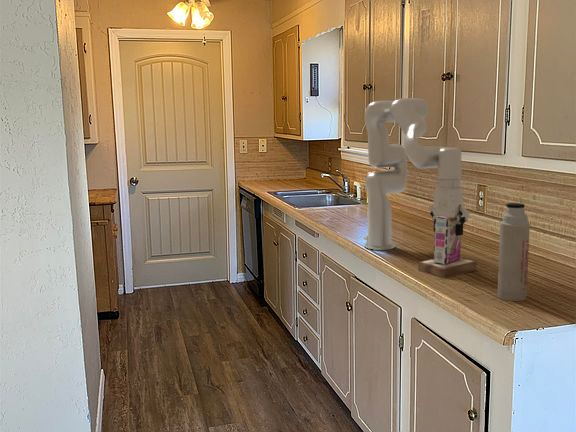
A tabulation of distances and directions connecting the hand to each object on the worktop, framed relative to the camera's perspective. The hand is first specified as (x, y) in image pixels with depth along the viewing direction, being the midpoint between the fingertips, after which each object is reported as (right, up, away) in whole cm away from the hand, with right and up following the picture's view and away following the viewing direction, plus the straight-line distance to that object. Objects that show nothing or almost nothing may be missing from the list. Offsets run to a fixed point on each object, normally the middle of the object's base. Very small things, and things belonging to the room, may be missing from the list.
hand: (448, 233), depth 198 cm
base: (0, -13, +2) cm, 13 cm away
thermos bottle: (+11, -18, -29) cm, 36 cm away
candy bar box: (0, -10, +2) cm, 10 cm away
